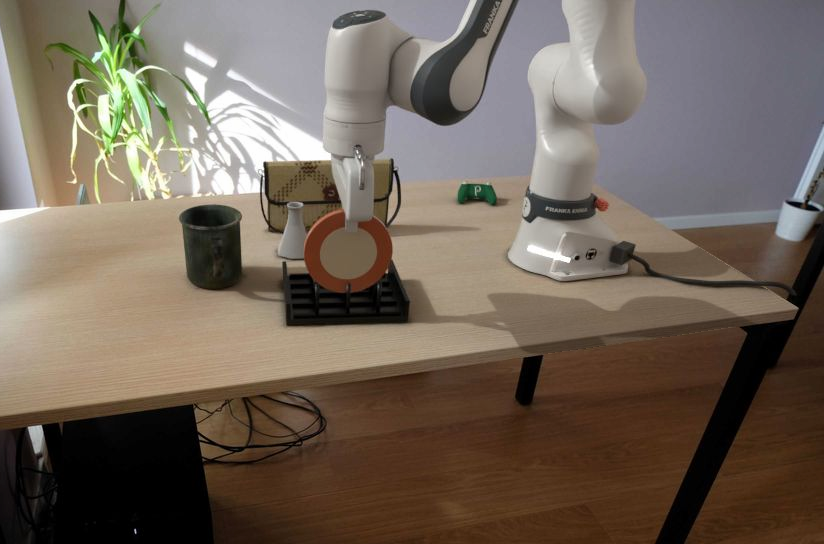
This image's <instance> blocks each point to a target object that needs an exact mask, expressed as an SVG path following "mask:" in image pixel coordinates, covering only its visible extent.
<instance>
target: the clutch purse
mask: <svg viewBox="0 0 824 544" xmlns="http://www.w3.org/2000/svg"><path fill="white" fill-rule="evenodd" d="M372 166H373V170H374V205H373V215H374V216H376V217H377V218H378V219H379V220H381V222H382V223H383V224H384V225H385V227H386V228H387V229H388V227H389V226H390V225H392V223H393V221H394V220H395V219H396V218H397V216H398V214H399V212H400V210H401V205H402V186H401V180H400V176H399V167H398V166H395V161H394V158H392V157H391V158H375V159H374V162H373V163H372ZM262 167H263V169H262V168H259V169H257V173H258V175H259V176H260V183H259V201H260V208H261V209H260V210H261V213H262V216H263V219H264V221H265V223H266V225H267V231H268V232H270V231H274V232H276V233H279V234H280V235H281V234H282V235H283V233H284V230H285V228H286V225H287V220H288V215H289V209H288V207H287V204H288V203H290V202H300V203H303V208H302V219H303V224H304V227H305V230H310V229H311V228H312V227H313V225H314V224H315V223H316V222H317V221H318V220H319V219H321V218H322V217H323V216H325V215H327V214H329V213H331V212H333V211H336V210H340V209H342V203H341V199H340V196H339V193H338V190H337V187H336V184H335V181H334V178H333V173H332V165H331V159H322V160H321V159H317V160H280V161H279V160H278V161H277V160H275V161H266V160H265V161H262ZM396 168H397V169H396ZM259 171H261V173H260V172H259ZM394 178H395V181H396V182H395V183H396V191H397V204H396V208H395V210H394V213H393V215H392V217H391V218H390V219H389V220H388V216H389V205H390V203H389V202H390V196H391V195H392V192H393V188H394V187H393V186H394ZM263 181H264V196H265V198H266V213H265V209H264V202H263Z"/></svg>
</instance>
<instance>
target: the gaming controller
mask: <svg viewBox="0 0 824 544" xmlns="http://www.w3.org/2000/svg"><path fill="white" fill-rule="evenodd" d="M468 181H469V180H464V181H463V182H462V183H461V184H460V186H459V188H458V191H457V202H458V203H459V204H464V203H465V201H466V200H467V199H468V200H472V199H477V200H481V201H484V200H486V201H487V202H488V204H489V205H491V206H496V205H497V202H498V197H497V193H496V191H495V189H494V187H493V185H492V182H491V181H486V184H485V183H469V182H468Z"/></svg>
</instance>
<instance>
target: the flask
mask: <svg viewBox="0 0 824 544" xmlns="http://www.w3.org/2000/svg"><path fill="white" fill-rule="evenodd" d="M287 207H288V209H289V215H288V220H287V225H286V228H285V230H283V231H284V233H283V234H282V236H281V239H280V242H279V245H278V247H277V254H278V256H280V257H282V258H286V259H290V260H294V259H304V252H303V251H304V243H305V239H306V237H307V235H308V232H307V229H305V227H304V224H303V219H302V208H303V203H300V202H290V203H288V204H287Z"/></svg>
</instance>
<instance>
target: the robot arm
mask: <svg viewBox="0 0 824 544" xmlns="http://www.w3.org/2000/svg"><path fill="white" fill-rule="evenodd" d="M519 2H520V0H469V1H468V5H467V6H466V9H465V11H464V14H463V16H462V18H461V20H460V23H459V25H458V27H457V29H456V31H455V32H454V34H453V35H452V36H450V37H449V38H448V39H446V40H444V41H441V42H440V41H437V40H432V39H427V38H424V37H420V36H417V35H414V34H413V33H410V32H408V31H406V30H404V29H402V28H401V27H399V26H397V24H396V23H394V22H393V21H392V20H390V19H389V17H388V14H387V13H385V12H384V11H380V10H377V9H376V10H375V9H365V10H354V11H350V12H346V13H344V14H342V15H339V16H338V17H337V18H336V19H334V20H333V22H332V23H331V26H330V28H329V31H328V35H327V40H326V47H325V57H324V60H325V61H324V79H323V82H324V83H323V84H324V89H325V91H326V100H325V101H326V102H325V106H324V108H323V119H322V121H323V122H322V123H323V125H322V149H323V150H324V151H325V152H327V153H328V154H330V160H331V165H332V173H333V178H334V181H335V184H336V187H337V190H338V193H339V196H340V199H341V203H342V209H344V212H345V215H346V218H345V230H346V232H347V233H355V232H357V227H358V222H363V221H370V220H371V219H372V216H373V205H374V170H373V166H372V163H373V162H374V159H376V158H375V157H376V156H377V155H380V154H381V153H383V152H384V150H385V140H386V139H385V137H386V126H387V125H386V123H387V109H388V108H389V107H392V106H394V107H397V108H399V109H401V110H403V111H406V112H410V113H413V114H415V115H419V116H420V117H422V118H423V119H426V120H428V121H430V122H431V123H433V124H435V125H437V126H441V127H450V126H453V125H456V124H458V123H460V122H462V121H463V120H464V119H465V118H467V117H468V116H470V115H471V114H472V113H473V111H474V110H476V108H477V107H478V105H479V104H480V102H481V100H482V98H483V97H484V96H483V95H484V93H485V90H486V86H487V83H488V77H489V73H490V70H491V67H492V64H493V61H494V58H495V56H496V54H497V52H498V49H499V47H500V45H501V42H502V40H503V38H504V35H505V33H506V31H507V28H508V27H509V24H510V22H511V19H512V17H513V15H514V12H515V10H516V8H517V5H518V3H519ZM635 6H636V0H561V10H562V13H563V15H564V17H565V20H566V23H567V28H568V34H569V42H568V41H567V42H558V43H551V44H548V45H545V46H544V47H543V48H542V49H540V50H539V51H538V52H537V53H536V54H535V55H534V57H533V58H532V60H531V62H530V64H529V66H528V70H527V84H528V86H529V87H528V88H529V89H530V92H531V94H532V98H533V103H534V117H535V152H534V158H533V163H532V170H531V176H530V181H529V185H528V186H527V187H526V189H525V194H524V199H523V202H522V209H521V221H520V224H519V227H518V230H517V232H516V235H515V238H514V240H513V243H512V245H511V247H510V248H509V250H508V253H507V257H508V259H509V261H510V262H512V264H513V265H515V266H517V267H518V268H520V269H523V270H525V271H528V272H531V273H535V274H539V275H542V276H546V277H548V278H551V279H553V280H555V281H559V282H569V281H578V280H579V281H580V280H584V279H586V280H587V279H595V278H601V277H602V278H603V277H610V276H618V275H624V274H625V275H626V274H627V273H628V271H629V264H628V262H630V261H631V260H633V261H635V262H638V263H639V264H641V266H643V267H644V271H645V272H646V273H647V274H649V275H651V276H653V277H657V278H661V279H664V280H665V279H666V280H670V281H673V282H678V283H682V284H690V285H699V286H709V287H710V286H711V287H720V286H751V287H775V288H780V289H783V290H785V291H786V292H787V293H788V294H789V295H790V296H797V292H796V291H795V290H794V289H793V288H792V287H791V286H790V285H788V284H785V283H783V282H779V281H768V280H767V281H765V280H764V281H761V280H760V281H757V280H743V279H741V280H739V279H738V280H735V279H733V280H703V279H696V278H684V277H677V276H671V275H667V274H664V273H663V274H662V273H660V272H657V271H655V270H653V269H651V267H650V264H649V262H647V261H646V260H645V259H644V258H641V257H639V256H637V255H636V254H634V252H635V249H636V246H637V245H636V243H632V242H630V241H626V240H623V241H620V240H619V239H620V238H619V236H618V234H617V233H616V232H615V230H614V229H613V228H612V227H611V226H610V225H609V224H608V223H607V222H606V221H605V220H604V219H603V218H602V217H601V216H599V214H597V211H596V210H598V211H599V212H606V211H607V210H608V209H609V207H610V206H609V205H610V203H609V201H607V200H605V199H604V198H602V197H600V198H599V196H597V195H596V194H594V193H593V192H592V191H593V187H594V182H595V179H596V174H597V170H598V166H599V163H600V157H601V155H600V154H601V152H600V147H599V144H598V142H597V140H596V135H595V131H594V125H602V126H603V125H604V126H609V125H610V126H614V125H619V124H622V123H624V122H626V121H628V120H630V119H631V118H632V117H633V116H634V115H635V114H636V113H637V112H638V111H639V109H640V108H641V106H642V105H643V103H644V100H645V97H646V95H647V92H648V91H647V90H648V80H647V76H646V74H645V72H644V70H643V68H642V67H641V63H640V61H639V57H638V53H637V45H636V36H635V35H636V34H635V8H636V7H635Z"/></svg>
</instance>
